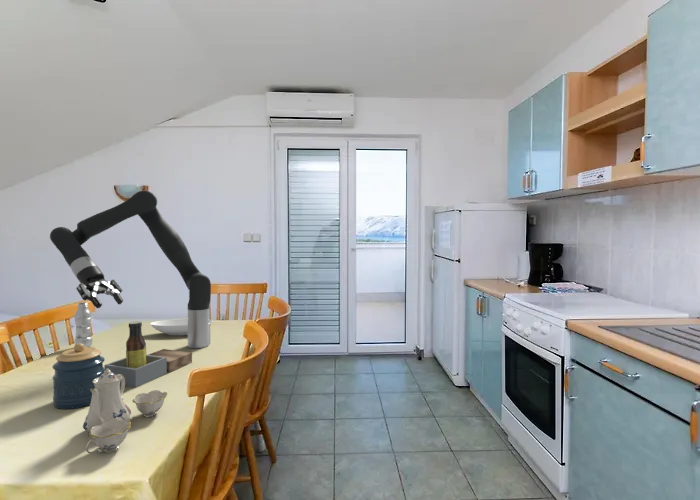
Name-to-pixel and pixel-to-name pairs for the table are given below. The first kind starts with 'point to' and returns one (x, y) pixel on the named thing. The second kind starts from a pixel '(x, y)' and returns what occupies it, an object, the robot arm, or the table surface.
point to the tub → (139, 370)
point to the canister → (76, 376)
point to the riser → (174, 358)
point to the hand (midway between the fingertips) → (110, 304)
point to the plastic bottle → (83, 325)
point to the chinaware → (115, 411)
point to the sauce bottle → (135, 346)
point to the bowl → (173, 326)
